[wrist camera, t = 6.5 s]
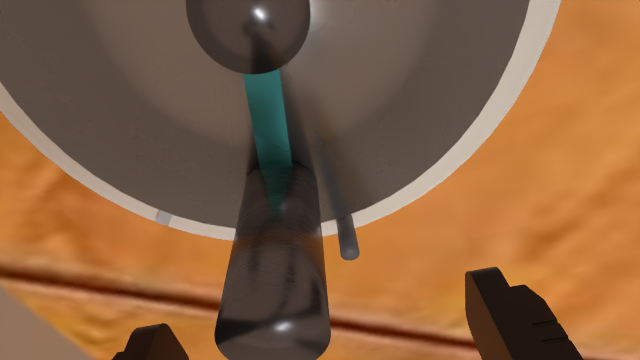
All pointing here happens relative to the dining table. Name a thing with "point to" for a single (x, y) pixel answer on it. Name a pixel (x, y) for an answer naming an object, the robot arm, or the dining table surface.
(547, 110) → the dining table surface
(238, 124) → the capstan
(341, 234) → the stand
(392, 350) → the dining table surface
